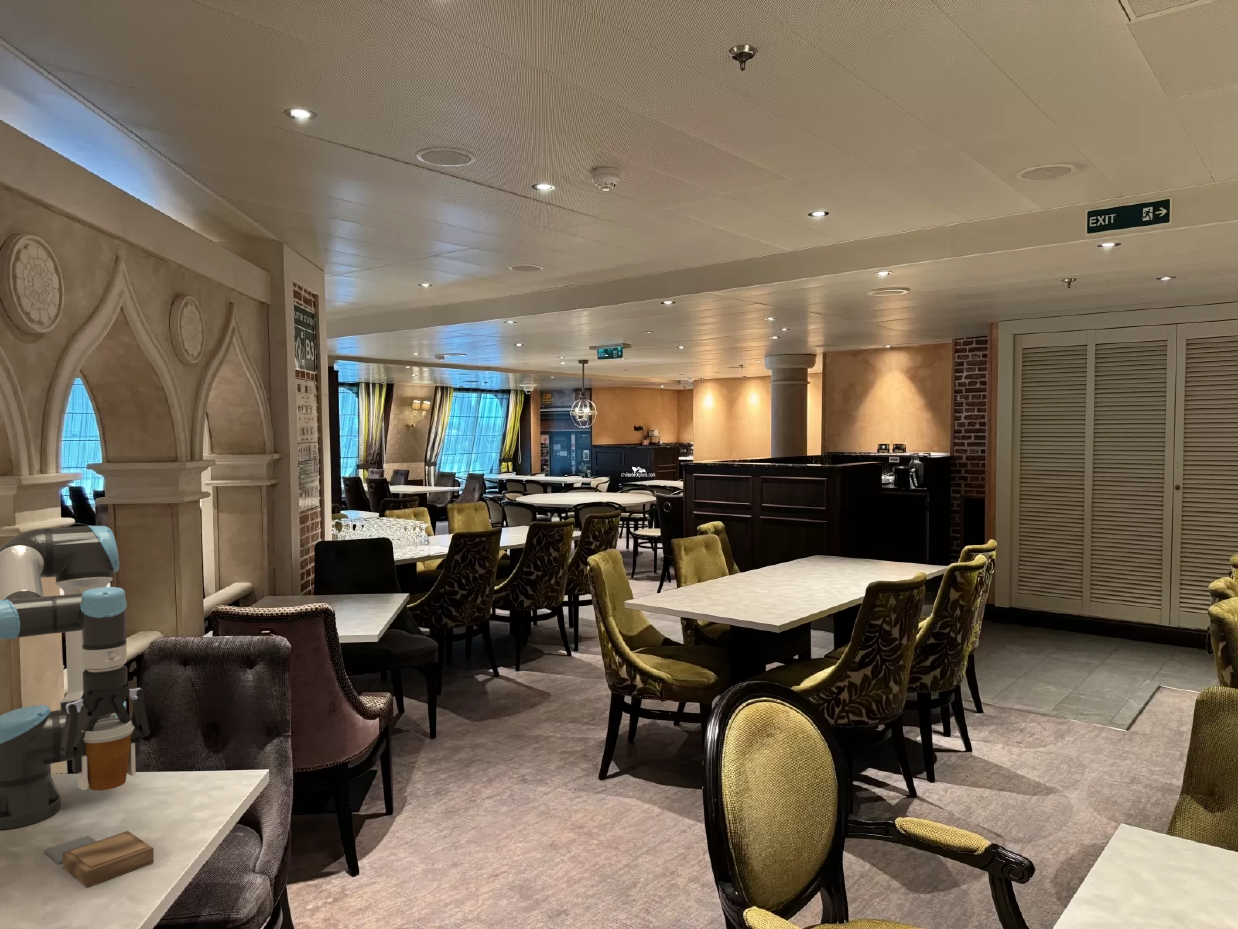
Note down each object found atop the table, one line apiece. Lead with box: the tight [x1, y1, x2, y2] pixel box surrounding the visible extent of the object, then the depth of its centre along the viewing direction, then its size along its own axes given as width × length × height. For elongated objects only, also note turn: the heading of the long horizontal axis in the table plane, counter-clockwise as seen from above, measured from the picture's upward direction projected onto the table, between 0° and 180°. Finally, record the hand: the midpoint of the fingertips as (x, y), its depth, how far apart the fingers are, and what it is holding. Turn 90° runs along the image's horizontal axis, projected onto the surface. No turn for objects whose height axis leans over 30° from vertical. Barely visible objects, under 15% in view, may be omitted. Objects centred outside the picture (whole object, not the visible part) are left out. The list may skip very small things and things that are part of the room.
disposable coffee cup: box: [79, 718, 135, 792], centre depth 168 cm, size 10×10×12 cm
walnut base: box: [62, 830, 155, 888], centre depth 169 cm, size 12×12×3 cm
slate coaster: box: [44, 834, 97, 865], centre depth 175 cm, size 8×8×1 cm
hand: (107, 780), depth 168 cm, fingers closed on disposable coffee cup, 8 cm apart
